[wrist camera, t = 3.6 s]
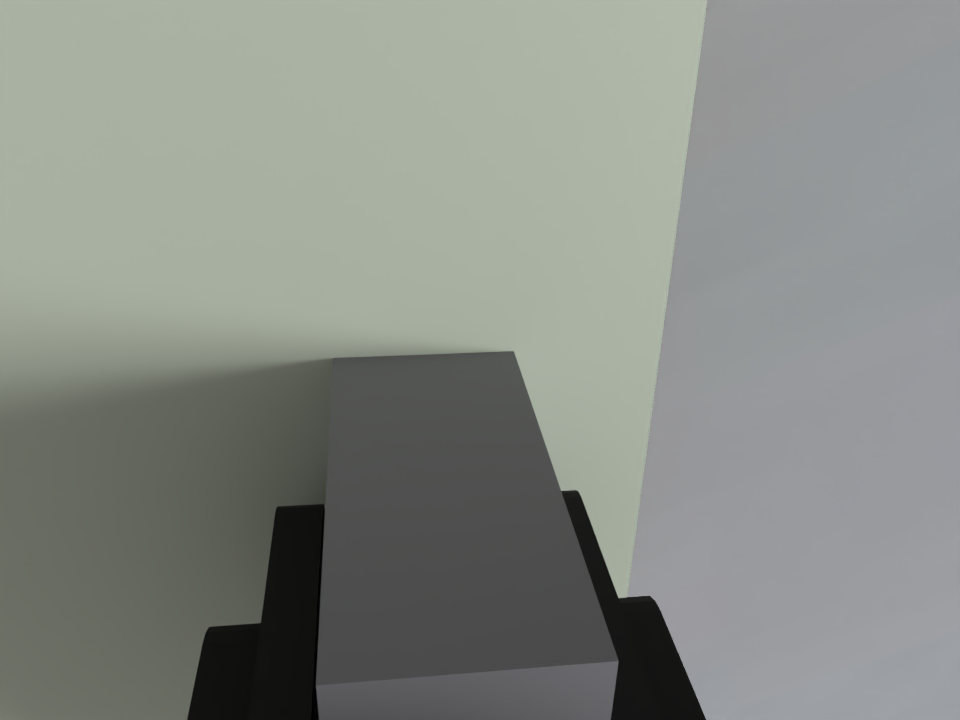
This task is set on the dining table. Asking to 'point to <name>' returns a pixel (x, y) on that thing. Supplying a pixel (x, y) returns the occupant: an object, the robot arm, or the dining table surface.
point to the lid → (330, 338)
